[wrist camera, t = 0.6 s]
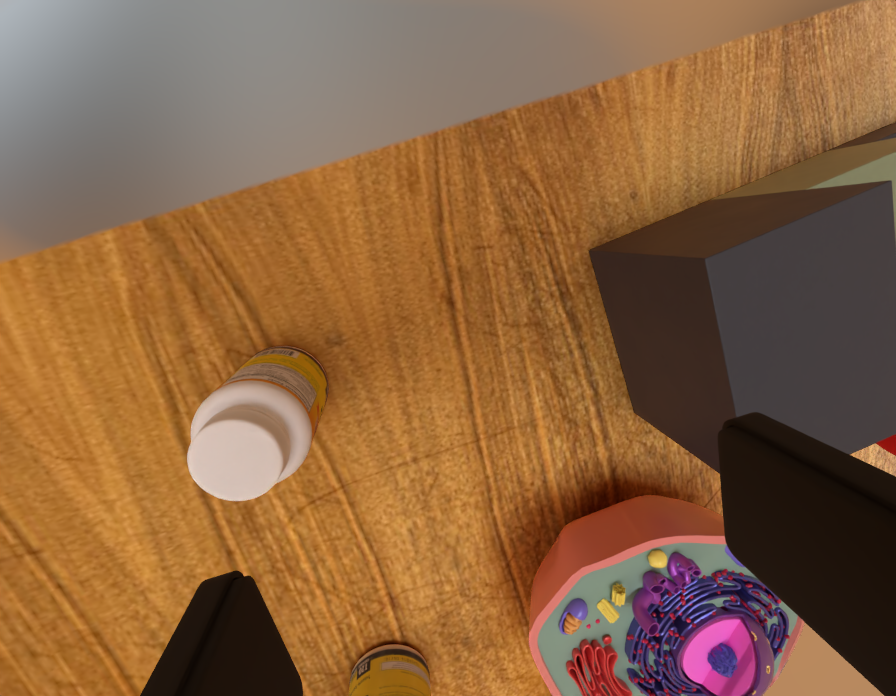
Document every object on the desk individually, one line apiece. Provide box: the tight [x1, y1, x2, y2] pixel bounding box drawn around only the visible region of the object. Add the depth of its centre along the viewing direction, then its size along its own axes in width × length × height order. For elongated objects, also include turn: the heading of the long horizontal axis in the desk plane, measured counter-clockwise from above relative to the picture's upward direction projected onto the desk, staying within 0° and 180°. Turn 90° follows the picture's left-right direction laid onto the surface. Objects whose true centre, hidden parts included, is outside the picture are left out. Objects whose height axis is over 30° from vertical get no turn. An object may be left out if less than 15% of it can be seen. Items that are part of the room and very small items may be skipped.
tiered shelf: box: [589, 122, 896, 473], centre depth 26 cm, size 13×27×11 cm, turn 111°
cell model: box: [529, 495, 805, 696], centre depth 30 cm, size 17×20×11 cm
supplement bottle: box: [187, 346, 329, 501], centre depth 23 cm, size 6×6×10 cm
